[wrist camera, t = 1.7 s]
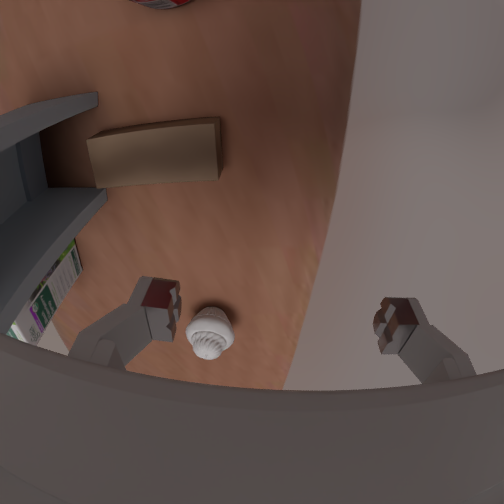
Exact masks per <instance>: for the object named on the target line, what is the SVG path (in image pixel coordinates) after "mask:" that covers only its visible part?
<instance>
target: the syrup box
mask: <svg viewBox="0 0 504 504" xmlns="http://www.w3.org/2000/svg"><path fill="white" fill-rule="evenodd" d="M81 272H82V267H81V264H80V260H79V256H78V253H77V249H76V245H75V241H74V239H73V240H72V241H71V243H70V244H69V245H68V246H67V248H66V249H65V250H64V251H63V253H62V254H61V255H60V257H59V258H58V259H57V260H56V262H55V263H54V264H53V266H52V267H51V268H50V270H49V271H48V272H47V274H46V275H45V276H44V278H43V279H42V281H41V282H40V283H39V285H38V286H37V288H36V289H35V290H34V292H33V293H32V295H31V296H30V298H29V299H28V301H27V302H26V304H25V305H24V307H23V308H22V310H21V311H20V313H19V314H18V316H17V318H16V319H15V321H14V322H13V324H12V326H11V327H10V329H9V331H8V332H7V334H6V335H8V336H11V337H13V338H15V339H18V340H21V341H23V342H26V343H29V344H32V345H35V346H37V344H38V342H39V340H40V338H41V337H42V335H43V333H44V331H45V330H46V328H47V326H48V324H49V323H50V321H51V319H52V318H53V316H54V314H55V312H56V311H57V309H58V307H59V306H60V304H61V303H62V301H63V299H64V298H65V296H66V295H67V293H68V292H69V290H70V289H71V287H72V285H73V284H74V283H75V281H76V280H77V278H78V277H79V275H80V274H81Z"/></svg>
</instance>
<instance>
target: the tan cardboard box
mask: <svg viewBox="0 0 504 504" xmlns="http://www.w3.org/2000/svg"><path fill="white" fill-rule="evenodd" d="M86 142H87V147H88V152H89V157H90V162H91V166H92V170H93V175H94V179H95V183H96V187H97V189H100V188H109V187H120V186H131V185H143V184H157V183H173V182H192V181H218V180H219V177H220V175H221V172H222V169H223V160H222V145H221V130H220V117H207V118H194V119H183V120H173V121H164V122H156V123H148V124H141V125H134V126H128V127H122V128H116V129H110V130H105V131H101V132H99V133H97V134H96V135H94V136H92V137H90V138H89V139H87V140H86Z"/></svg>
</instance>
